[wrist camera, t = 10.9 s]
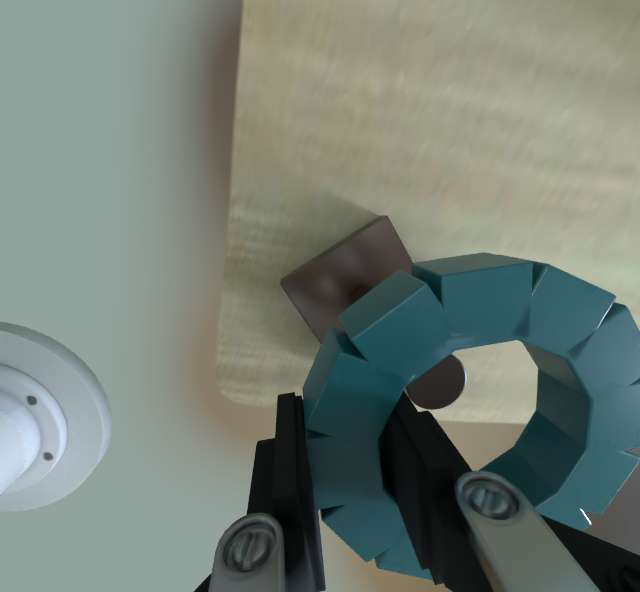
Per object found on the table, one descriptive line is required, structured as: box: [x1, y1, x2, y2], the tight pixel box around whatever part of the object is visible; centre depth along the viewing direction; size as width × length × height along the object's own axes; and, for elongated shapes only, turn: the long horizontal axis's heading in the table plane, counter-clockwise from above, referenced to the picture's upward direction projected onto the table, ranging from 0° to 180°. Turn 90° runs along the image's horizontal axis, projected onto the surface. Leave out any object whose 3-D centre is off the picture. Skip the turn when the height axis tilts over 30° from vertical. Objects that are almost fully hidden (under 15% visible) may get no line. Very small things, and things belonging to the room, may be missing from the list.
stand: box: [280, 216, 466, 410], centre depth 19 cm, size 9×9×14 cm
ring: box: [302, 253, 640, 581], centre depth 10 cm, size 10×10×2 cm
